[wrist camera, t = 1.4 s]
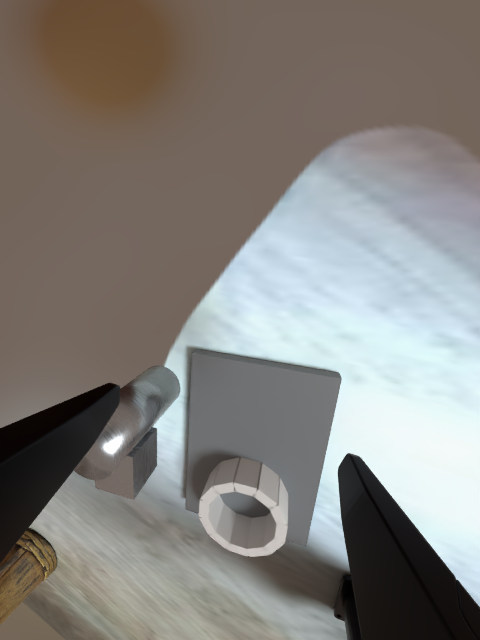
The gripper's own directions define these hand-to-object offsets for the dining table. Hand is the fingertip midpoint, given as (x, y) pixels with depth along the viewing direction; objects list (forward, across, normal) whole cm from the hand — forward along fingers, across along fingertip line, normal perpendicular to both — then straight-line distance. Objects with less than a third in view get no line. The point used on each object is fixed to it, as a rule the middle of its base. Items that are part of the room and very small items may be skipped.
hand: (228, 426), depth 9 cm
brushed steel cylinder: (+13, +8, +14) cm, 20 cm away
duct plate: (+12, -4, +15) cm, 19 cm away
